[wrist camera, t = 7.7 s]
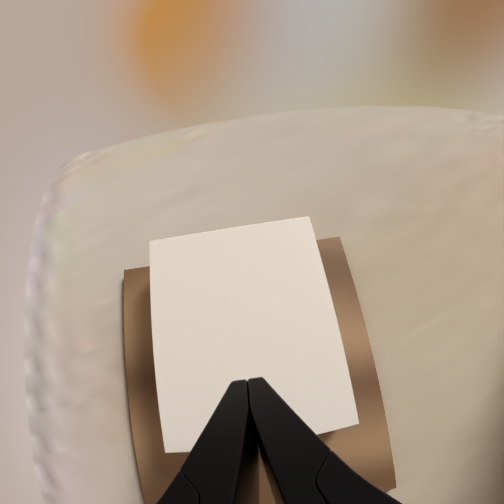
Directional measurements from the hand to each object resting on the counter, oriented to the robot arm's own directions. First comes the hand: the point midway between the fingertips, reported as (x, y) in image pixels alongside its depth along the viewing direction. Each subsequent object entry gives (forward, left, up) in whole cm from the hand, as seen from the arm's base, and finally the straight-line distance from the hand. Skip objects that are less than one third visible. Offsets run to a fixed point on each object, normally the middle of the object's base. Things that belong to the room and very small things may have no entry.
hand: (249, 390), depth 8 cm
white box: (-2, -1, -6) cm, 6 cm away
